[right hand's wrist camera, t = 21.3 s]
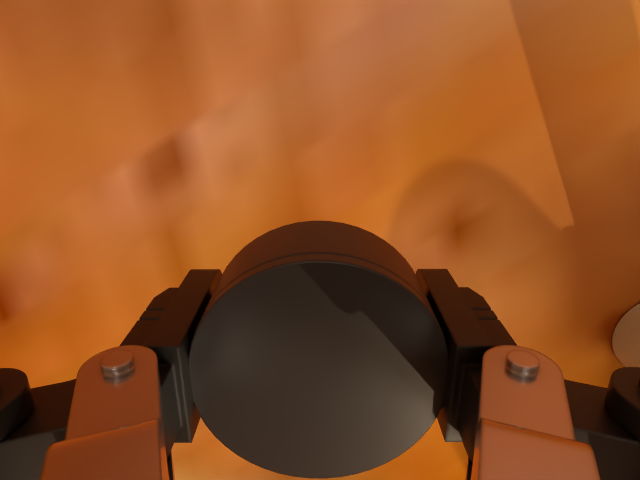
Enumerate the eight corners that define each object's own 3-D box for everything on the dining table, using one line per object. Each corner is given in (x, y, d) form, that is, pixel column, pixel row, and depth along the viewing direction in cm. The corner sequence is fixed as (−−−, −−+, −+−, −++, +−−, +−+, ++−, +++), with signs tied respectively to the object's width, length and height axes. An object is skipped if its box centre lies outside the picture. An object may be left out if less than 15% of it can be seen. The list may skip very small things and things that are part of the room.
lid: (332, 172, 10) (336, 202, 8) (466, 330, 11) (502, 393, 9) (168, 309, 11) (131, 368, 9) (308, 436, 12) (305, 514, 10)
